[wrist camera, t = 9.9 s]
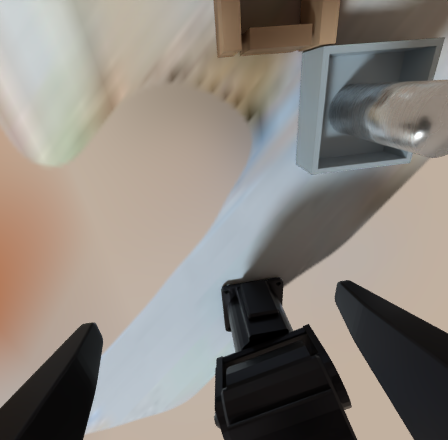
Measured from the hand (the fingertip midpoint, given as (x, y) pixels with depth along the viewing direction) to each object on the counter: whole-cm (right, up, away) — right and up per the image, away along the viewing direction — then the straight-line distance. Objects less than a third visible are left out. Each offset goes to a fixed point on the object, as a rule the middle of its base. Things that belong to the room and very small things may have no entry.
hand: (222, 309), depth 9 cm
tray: (+10, +12, +10) cm, 18 cm away
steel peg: (+10, +12, +10) cm, 18 cm away
